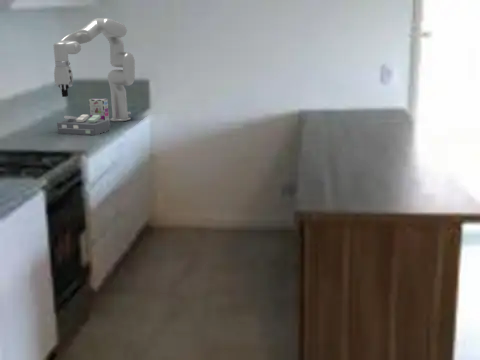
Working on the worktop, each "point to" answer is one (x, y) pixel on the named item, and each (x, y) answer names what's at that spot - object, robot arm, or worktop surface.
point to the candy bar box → (99, 108)
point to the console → (83, 127)
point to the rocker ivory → (82, 118)
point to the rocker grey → (70, 117)
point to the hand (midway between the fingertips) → (65, 96)
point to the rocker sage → (94, 118)
